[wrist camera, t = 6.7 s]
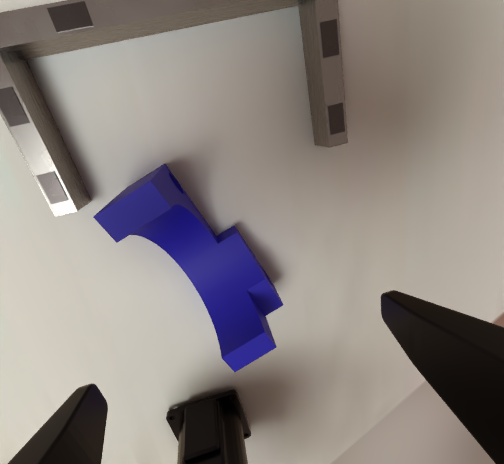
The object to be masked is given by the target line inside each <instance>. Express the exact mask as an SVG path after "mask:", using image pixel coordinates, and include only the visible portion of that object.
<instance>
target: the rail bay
mask: <svg viewBox="0 0 504 464" xmlns="http://www.w3.org/2000/svg"><path fill="white" fill-rule="evenodd" d="M297 5H299V13H300V22H301V30H302V39H303V47H304V56H305V64H306V73H307V81H308V90H309V98H310V107H311V115H312V124H313V132H314V141H315V145H317V146H323V147H333V146H337V145H341V144H345V143H348V139H347V125H346V111H345V97H344V83H343V69H342V55H341V41H340V27H339V13H338V0H67V1H61V2H56V3H50V4H45V5H40V6H34V7H29V8H23V9H18V10H12V11H7V12H2V13H0V114H1V116H2V118H3V120H4V122H5V124H6V126H7V127H8V129H9V131H10V133H11V135H12V137H13V139H14V141H15V142H16V144H17V146H18V148H19V150H20V152H21V154H22V156H23V157H24V159H25V161H26V163H27V165H28V167H29V169H30V171H31V172H32V174H33V176H34V178H35V180H36V182H37V184H38V185H39V187H40V189H41V191H42V193H43V195H44V197H45V199H46V200H47V202H48V204H49V206H50V208H51V210H52V212H53V214H54V215H55V217H56V216H60V215H64V214H68V213H72V212H76V211H78V210H80V209H81V208H83V207H84V206H85V205H87V204H88V203H90V202H91V199H90V197H89V195H88V193H87V191H86V189H85V186H84V184H83V182H82V180H81V178H80V176H79V174H78V171H77V169H76V167H75V165H74V163H73V161H72V159H71V156H70V154H69V152H68V150H67V148H66V146H65V144H64V141H63V139H62V137H61V135H60V133H59V131H58V129H57V126H56V124H55V122H54V120H53V118H52V116H51V114H50V111H49V109H48V107H47V105H46V103H45V101H44V99H43V97H42V94H41V92H40V90H39V88H38V86H37V84H36V82H35V79H34V77H33V75H32V73H31V71H30V69H29V67H28V64H27V62H26V60H27V59H32V58H37V57H42V56H47V55H52V54H57V53H62V52H67V51H72V50H77V49H82V48H87V47H92V46H97V45H102V44H107V43H112V42H117V41H122V40H127V39H132V38H137V37H142V36H147V35H152V34H157V33H162V32H167V31H172V30H177V29H182V28H187V27H192V26H197V25H202V24H207V23H212V22H217V21H222V20H227V19H232V18H237V17H242V16H247V15H252V14H257V13H262V12H267V11H272V10H277V9H282V8H287V7H292V6H297Z"/></svg>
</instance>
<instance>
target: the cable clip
mask: <svg viewBox="0 0 504 464" xmlns="http://www.w3.org/2000/svg"><path fill="white" fill-rule="evenodd" d="M94 218H95V219H96V220H97V221H98V223H99V224H100V225H101V226H102V227H103V228H104V229H105V230H106V231H107V232H108V234H109V235H110V236H111V237H112V238H113V239H114V240H115V241H116V242H119V241H120V240H122V239H124V238H125V237H127V236H128V235H138V236H142V237H145V238H147V239H149V240H151V241H152V242H154V243H156V244H157V245H158V246H160V247H161V248H162V249H163V250H165V251H166V252H167V253H168V254H169V255H170V256H171V257H172V258H173V259H174V260H175V261H176V262H177V263H178V265H179V266H180V267H181V268H182V269H183V271H184V272H185V273H186V275H187V276H188V277H189V279H190V280H191V282H192V283H193V285H194V286H195V288H196V290H197V291H198V293H199V295H200V296H201V298H202V300H203V302H204V304H205V306H206V308H207V310H208V312H209V315H210V317H211V319H212V322H213V324H214V327H215V330H216V333H217V337H218V340H219V345H220V350H221V356H222V359H223V360H224V361H225V362H226V363H227V364H228V365H229V366H230V367H231V369H232V370H233V371H234V372H236V371H238V370H239V369H241V368H243V367H244V366H246V365H248V364H249V363H251V362H253V361H254V360H256V359H258V358H259V357H261V356H263V355H264V354H266V353H268V352H269V351H271V350H273V349H274V348H276V344H275V342H274V339H273V336H272V333H271V330H270V328H269V325H268V322H267V319H266V315H268V314H269V313H271V312H273V311H274V310H276V309H278V308H279V307H281V306H283V303H282V301H281V299H280V297H279V295H278V293H277V291H276V289H275V287H274V285H273V283H272V281H271V280H270V278H269V277H268V275H267V274H266V272H265V271H264V269H263V268H262V266H261V265H260V263H259V262H258V260H257V259H256V257H255V256H254V254H253V253H252V251H251V250H250V248H249V247H248V245H247V244H246V242H245V241H244V239H243V238H242V236H241V235H240V233H239V232H238V230H237V229H236V227H235V226H233V227H231V228H229V229H228V230H226V231H225V232H223V233H221V234H220V235H218V236H216V235H215V233H214V232H213V230H212V229H211V228H210V226H209V225H208V223H207V222H206V221H205V219H204V218H203V216H202V215H201V214H200V212H199V211H198V209H197V208H196V207H195V205H194V204H193V202H192V201H191V199H190V198H189V197H188V195H187V194H186V192H185V191H184V190H183V188H182V187H181V185H180V184H179V183H178V181H177V180H176V178H175V177H174V176H173V174H172V173H171V171H170V170H169V169H168V167H167V166H166V164H164V165H162V166H160V167H159V168H157V169H156V170H154V171H153V172H151V173H149V174H148V175H146V176H145V177H143V178H142V179H140V180H138V181H137V182H135V183H134V184H132V185H131V186H129V187H127V188H126V189H125V190H123V191H122V192H121V193H120V194H119V195H118V196H117V197H115V198H114V199H113V200H112V201H111V202H110V203H109V204H107V205H106V206H105V207H104V208H103V209H102V210H101V211H99V212H98V213H97V214H96V215H95V216H94Z"/></svg>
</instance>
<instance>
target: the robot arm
mask: <svg viewBox="0 0 504 464" xmlns="http://www.w3.org/2000/svg"><path fill="white" fill-rule="evenodd" d="M381 314H382V318H383V320H384V322H385V323H386V325H387V326H388V328H389V329H390V331H391V332H392V334H393V335H394V337H395V338H396V340H397V341H398V343H399V344H400V345H401V347H402V348H403V350H404V351H405V353H406V354H407V356H408V357H409V359H410V360H411V361H412V363H413V364H414V365H415V367H416V368H417V369H418V371H419V372H420V373H421V374H422V375H423V377H424V378H425V379H426V380H427V381H428V383H429V384H430V385H431V386H432V387H433V389H434V390H435V391H436V392H437V393H438V395H439V396H440V397H441V398H442V400H443V401H444V402H445V403H446V404H447V406H448V407H449V408H450V409H451V410H452V412H453V413H454V414H455V415H456V416H457V418H458V419H459V420H460V421H461V422H462V423H463V425H464V426H465V427H466V428H467V430H468V431H469V432H470V433H471V434H472V436H473V437H474V438H475V439H476V440H477V442H478V443H479V444H480V445H481V447H482V448H483V449H484V450H485V451H486V453H487V454H488V455H489V456H490V457H491V459H492V460H493V461H494V462H495V463H496V464H504V328H503V327H501V326H498V325H495V324H492V323H489V322H486V321H483V320H480V319H477V318H475V317H472V316H469V315H466V314H463V313H460V312H457V311H454V310H451V309H448V308H445V307H442V306H439V305H436V304H433V303H431V302H428V301H425V300H422V299H419V298H416V297H413V296H410V295H407V294H404V293H401V292H398V291H395V290H393V291H389V292H386V293H383V294H382V295H381ZM107 411H108V406H107V402H106V400H105V398H104V397H103V395H102V393H101V392H100V390H99V389H98V387H97V386H96V385H95V384H88V385H85V386H82V387H79V388H78V389H77V390H76V391H75V392H74V393H73V394H72V395H71V396H70V397H69V398H68V399H67V400H66V401H65V402H64V403H63V405H62V406H61V407H60V408H59V409H58V410H57V411H56V412H55V413H54V414H53V415H52V416H51V417H50V419H49V420H48V421H47V422H46V423H45V424H44V425H43V426H42V427H41V428H40V429H39V430H38V432H37V433H36V434H35V435H34V436H33V437H32V438H31V439H30V440H29V441H28V442H27V443H26V444H25V446H24V447H23V448H22V449H21V450H20V451H19V452H18V453H17V454H16V455H15V456H14V457H13V458H12V460H11V461H10V462H9V463H8V464H101V459H102V451H103V443H104V435H105V427H106V419H107ZM166 419H167V421H168V423H169V425H170V427H171V429H172V431H173V433H174V435H175V437H176V438H177V440H178V442H179V445H178V462H177V464H248V462H247V455H246V448H245V442H244V439H246V438H249V437H250V436H251V431H250V427H249V424H248V422H247V419H246V416H245V413H244V410H243V407H242V404H241V401H240V398H239V396H238V393H237V391H236V390H230V391H227V392H224V393H221V394H218V395H215V396H212V397H209V398H206V399H203V400H200V401H197V402H194V403H190V404H187V405H184V406H181V407H178V408H175V409H172V410H170V411H168V412H167V417H166Z"/></svg>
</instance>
